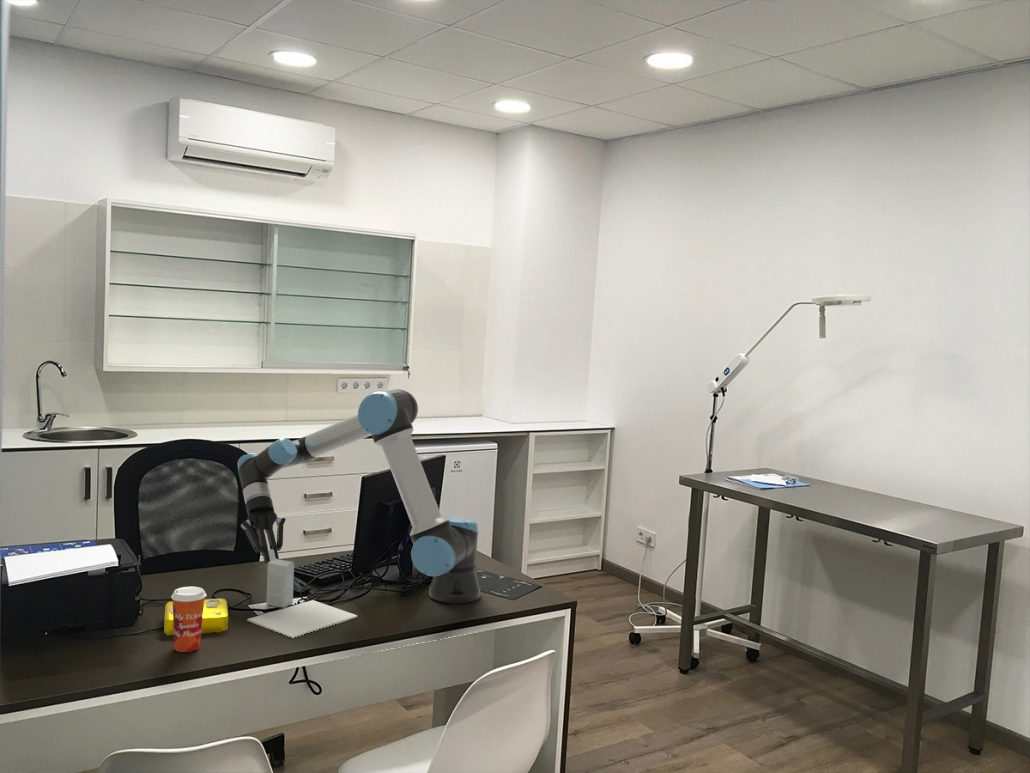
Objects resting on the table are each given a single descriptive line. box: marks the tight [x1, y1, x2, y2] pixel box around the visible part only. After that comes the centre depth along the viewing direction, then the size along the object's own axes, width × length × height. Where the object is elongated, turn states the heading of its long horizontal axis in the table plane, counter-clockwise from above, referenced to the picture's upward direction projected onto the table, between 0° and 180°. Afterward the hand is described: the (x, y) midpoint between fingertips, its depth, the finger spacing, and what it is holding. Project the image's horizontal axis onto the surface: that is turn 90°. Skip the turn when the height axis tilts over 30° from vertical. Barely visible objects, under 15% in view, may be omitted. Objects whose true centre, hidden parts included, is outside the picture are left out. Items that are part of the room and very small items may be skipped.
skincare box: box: [266, 558, 295, 609], centre depth 235 cm, size 6×4×12 cm
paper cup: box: [170, 586, 207, 653], centre depth 201 cm, size 8×8×14 cm
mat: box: [246, 599, 358, 639], centre depth 226 cm, size 18×22×1 cm
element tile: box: [163, 598, 229, 636], centre depth 218 cm, size 15×15×5 cm
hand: (274, 572), depth 239 cm, fingers closed
